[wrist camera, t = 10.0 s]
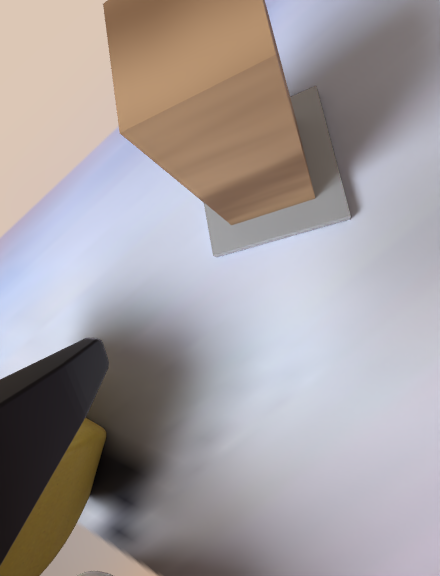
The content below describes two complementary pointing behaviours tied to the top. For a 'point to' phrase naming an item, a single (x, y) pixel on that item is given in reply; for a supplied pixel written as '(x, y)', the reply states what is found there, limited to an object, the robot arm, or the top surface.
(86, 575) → the pill bottle
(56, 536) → the flower pot
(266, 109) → the walnut block
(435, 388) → the top surface
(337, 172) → the slate tile
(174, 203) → the top surface
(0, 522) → the robot arm
